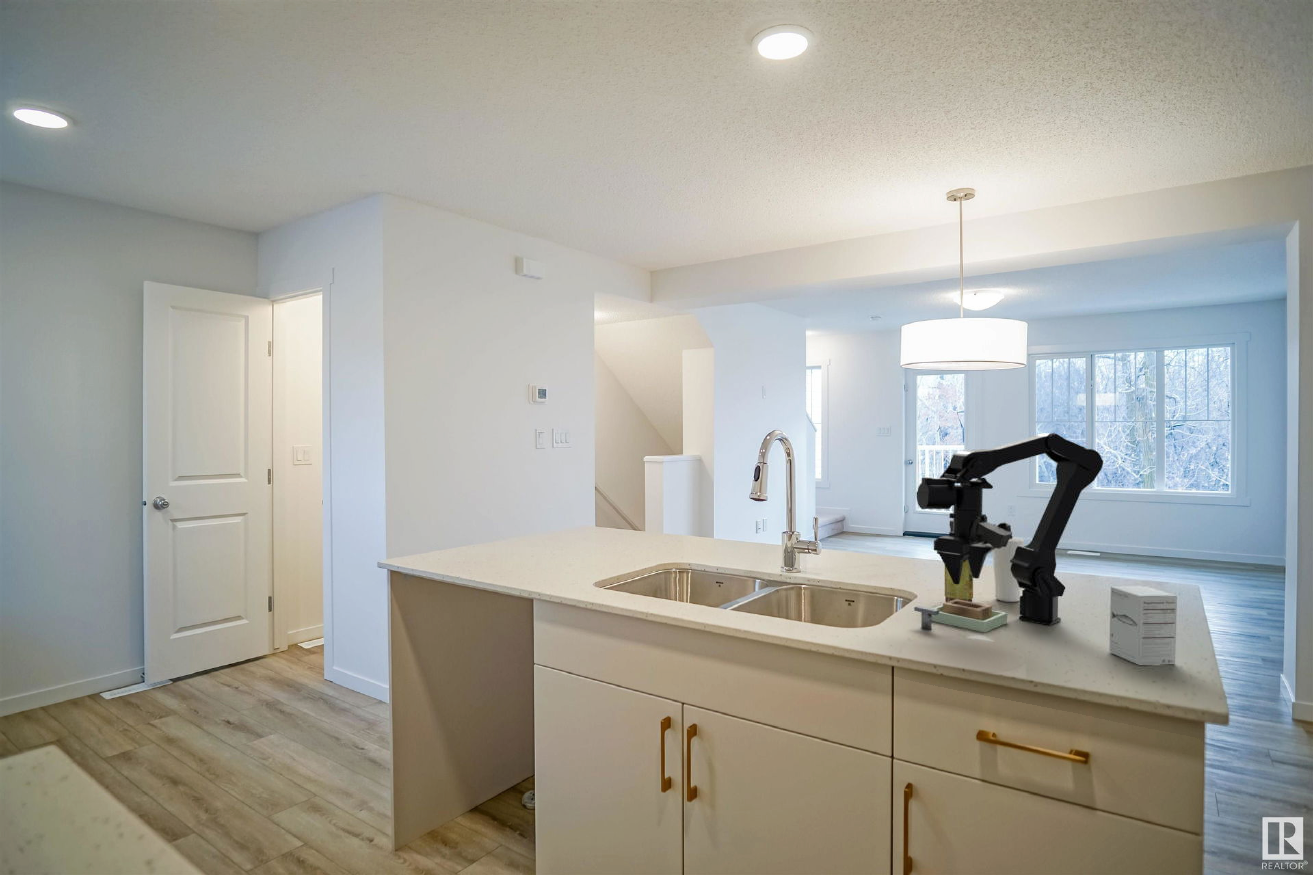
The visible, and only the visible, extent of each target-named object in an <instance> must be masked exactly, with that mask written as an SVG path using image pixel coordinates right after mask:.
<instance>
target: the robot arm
mask: <svg viewBox="0 0 1313 875" xmlns="http://www.w3.org/2000/svg"><path fill="white" fill-rule="evenodd" d="M1043 454H1044V455H1046V457H1048V459H1049V460H1051V461H1053V463H1054V462H1055V463H1056V467H1055V477H1056V485H1055V487H1054V489H1053V491H1052V494H1051V495H1050V498H1049V501H1048V503H1047V505H1046V508H1045V510H1044V512H1043V514H1042V515H1041V519H1040V521H1039V523H1038V526H1037V528H1036V530H1035V532H1034V535H1033V536H1032V539H1031V541H1030V542H1029V543H1028V544H1027V545H1025V546H1024V547H1022V546H1017V548H1016V551H1015V554H1014V556H1013V558H1012V559H1011V560H1010V562H1011V563H1012V564H1011V572H1012V575H1013V577H1014V578H1015V579H1016V580H1017V583H1018V586H1019V587H1020V589H1022V591H1021V592H1022V593H1021V594H1022V595H1020V600H1019V616H1018V620H1022V621H1027V622H1032V623H1037V624H1043V625H1047V626H1052V625H1054V624H1056V623H1058V622H1060V621H1062V618H1061V617H1059V597H1063V596H1064V593H1065V590H1066V586H1065V585H1064V584H1063V583H1062V582H1061V581H1060V580H1059V579H1058V578H1057V577H1056V576H1055V574H1056V568H1057V558H1056V550H1057V547H1058V545H1059V543H1060V541H1061V538H1062V537H1063V533H1064V532H1065V529H1066V527H1067V524H1068V523H1069V520H1070V518H1071V516H1072V513H1073V511H1074V509H1075V507H1076V505H1077V503H1078V502H1077V501H1078V500H1079V498H1080V495H1081V493H1082V491H1083V490H1085V489H1086V488H1087V487H1089V486H1090V484H1091V485H1092V483H1094V481H1095V480H1096V478H1097V476H1098V475H1099V474H1100V472H1101V471H1102V469H1103V465H1104V460H1103V458H1102V455H1101V454H1100V453H1099V452H1098V451H1097V450H1095V449H1092V448H1086V447H1084V446H1083V445H1080V444H1078V443H1075V442H1073V441H1071V440H1068V439H1066V438H1065V437H1062V436H1061V435H1060V434H1058V433H1055V432H1054V433H1053V432H1042V433H1039V434H1038V435H1037V434H1036V435H1035V436H1034V435H1033V436H1031V437H1027V438H1023V439H1020V440H1016V441H1013V442H1009V443H1006V444H1002V445H998V446H996V447H991V448H984V449H969V450H967V449H966V450H958V451H956V452H954V453H953V454H952V457H951V458H950V461H949V465H948V466H947V467H946V468H945V470H944V471H943V473H942V474H941V475H940V477H939V478H934V477H933V478H932V477H925V476H923V477H922V478H921V482H920V483H919V486H918V489H917V491H916V502H917V505H918V507H919V508H920V509H922V510H949V509H951V507H952V506H953V509H952V510H953V512H950V513H949V519H952V520H953V532H950V531H949V532H948V535H943V536H939V537H937V538H936V539H934V540H933V550H934V551H935V552H936V554H937V555H939V556H940V559H941V560H942V562H943V564H944V567H945V566H946V568H947V570H948V572H949V575H950V577H951V579H952V581H953V583H954V584H957V585H958V584H960V579H961V572H962V566H963V561H964V559H966V558H968V561H969V565H970V569H971V572H972V576H973V579H976V580H977V579H979V578H980V575H981V573H982V569H983V567H984V565H985V564H984V563H985V561H986V558H987V556H988V554H990V553H991V552H993V550H994V549H996V548H998V549H1000V548H1001V547H1006V546H1007V543H1008V541H1009V539H1012V537H1013V531H1012V528H1011V527H1012V526H1011V524H1010V523H1007V522H1005V521H1004V522H1000V523H999V524H997V525H996V523H990V522H988V516H987V514H986V513H985V514H983V493H984V492H983V491H984V490H985V489H986V490H991V489H993V488H994V486H993V485H992V483H991V482H988V480H987V478H986V477H985V476H987V475H989V474H991V473H993V472H994V471H995V470H997V469H998V468H1000V467H1002V466H1004V465H1008V464H1011V463H1015V462H1018V461H1022V460H1026V459H1030V458H1033V457H1037V456H1040V455H1043ZM973 479H974V480H973ZM975 479H976V480H975ZM983 489H984V490H983Z"/></svg>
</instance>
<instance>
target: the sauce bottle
mask: <svg viewBox="0 0 1313 875" xmlns="http://www.w3.org/2000/svg"><path fill="white" fill-rule="evenodd" d="M949 532H953V519H950V520H949ZM944 597H945V603H946V602H949V601H952V600H955V599H959V600H964V601H970V602H973V599H974V578H973V576H972V572H971V569H970V565H969V561H968V558H966V559H964V561H963V566H962V572H961V579H960V584H958V585H957V584H954V583H953V581H952V579H951V577H950V575H949V572H948V570H947V568H946V566H945V565H944Z"/></svg>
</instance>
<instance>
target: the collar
mask: <svg viewBox="0 0 1313 875" xmlns="http://www.w3.org/2000/svg"><path fill="white" fill-rule="evenodd" d="M942 605H943V613H948V614H953V615H957V616H962V617H967V618H971V619H976V620H981V621H984V620H987V619H989V618H992V610H993V606H992V605H989V604H984V603H979V602H974V601H972V602H970V601H964V600H959V599H955V600H952V601H949V602H946V601H945V602H943V603H942Z"/></svg>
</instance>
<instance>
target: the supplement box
mask: <svg viewBox="0 0 1313 875" xmlns="http://www.w3.org/2000/svg"><path fill="white" fill-rule="evenodd" d="M1177 608H1178V596H1177V595H1176V594H1173V593H1168V592H1166V591H1163V590H1159V589H1156V588H1153V587H1148V586H1145V585H1124V586H1123V585H1122V586H1121V585H1117V586H1110V609H1109V610H1110V612H1109V645H1108V646H1109V647H1108V652H1109V653H1110V654H1114V655H1116V656H1118V657H1120V658H1123V659H1124V660H1127V661H1128V662H1131V663H1133V662H1134V663H1133V664H1135V663H1136V665H1137V664H1138V665H1137V666H1139V665H1152V666H1155V665H1154V664H1175V665H1176V650H1177V649H1176V644H1177V639H1176V638H1177V615H1178V614H1177V612H1178V609H1177Z"/></svg>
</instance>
